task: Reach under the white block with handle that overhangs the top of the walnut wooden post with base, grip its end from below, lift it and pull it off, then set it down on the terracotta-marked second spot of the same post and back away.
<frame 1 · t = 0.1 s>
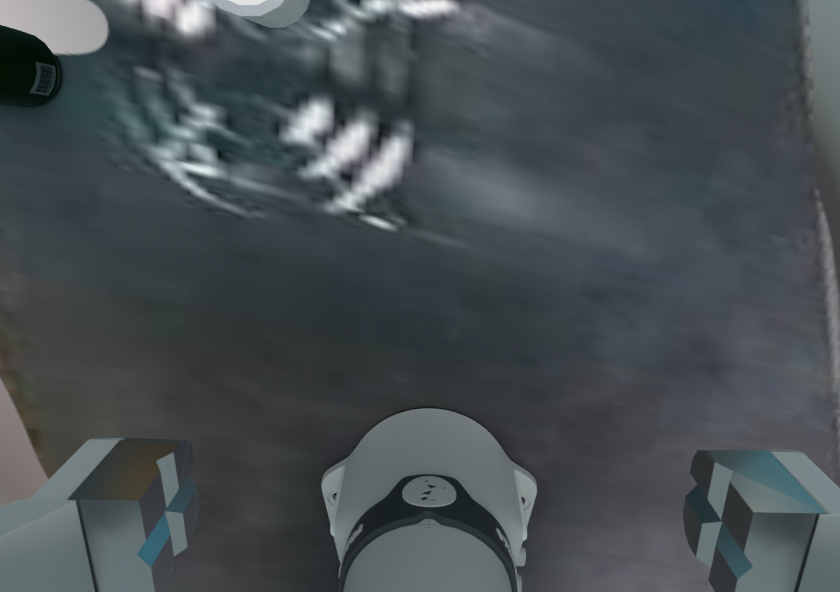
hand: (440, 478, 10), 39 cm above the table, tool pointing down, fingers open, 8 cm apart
beer can: (31, 71, 46), on the table
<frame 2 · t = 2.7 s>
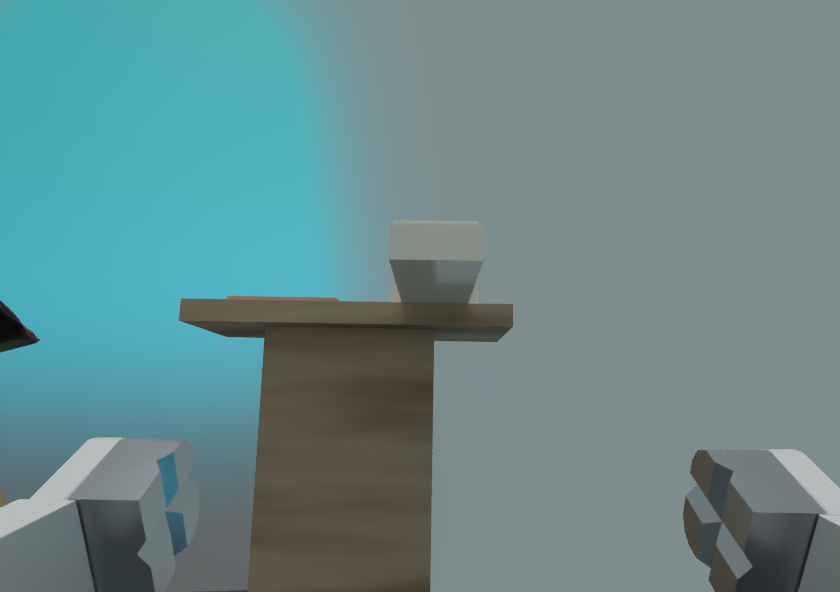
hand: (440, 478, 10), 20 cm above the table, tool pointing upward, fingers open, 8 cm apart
white block with handle: (434, 300, 26), point 26 cm above the table, touching wooden post with base
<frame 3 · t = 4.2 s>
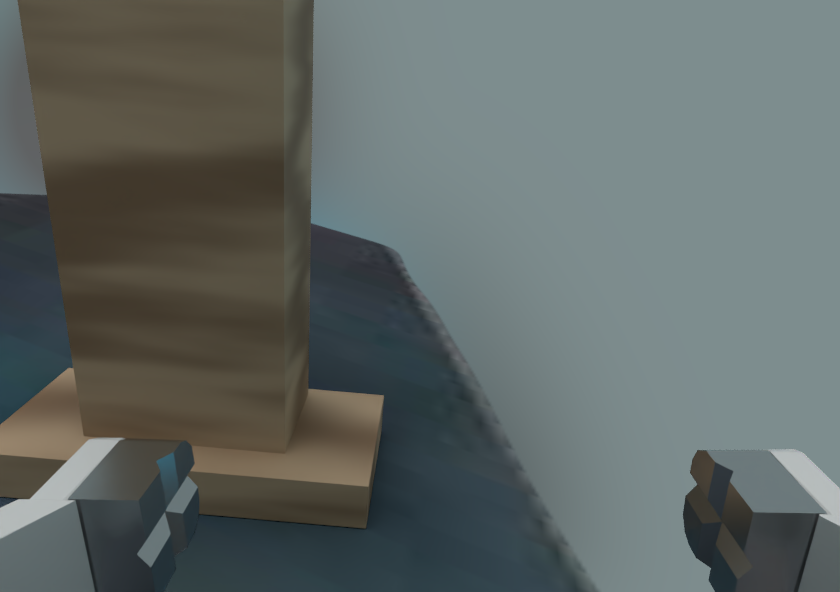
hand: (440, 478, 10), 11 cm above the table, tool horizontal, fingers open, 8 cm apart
wooden post with base: (203, 459, 26), on the table
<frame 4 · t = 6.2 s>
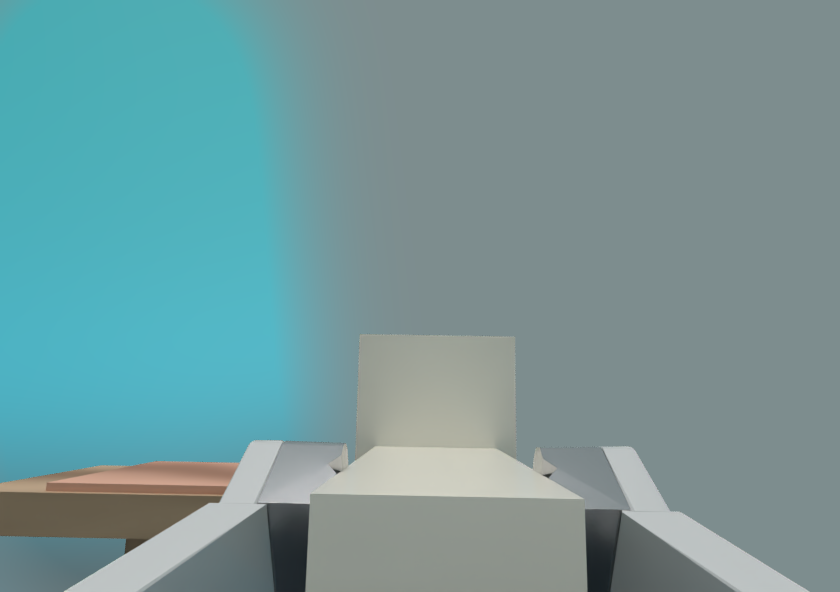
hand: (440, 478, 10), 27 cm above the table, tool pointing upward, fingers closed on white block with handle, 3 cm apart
white block with handle: (435, 505, 13), point 26 cm above the table, touching wooden post with base, gripper
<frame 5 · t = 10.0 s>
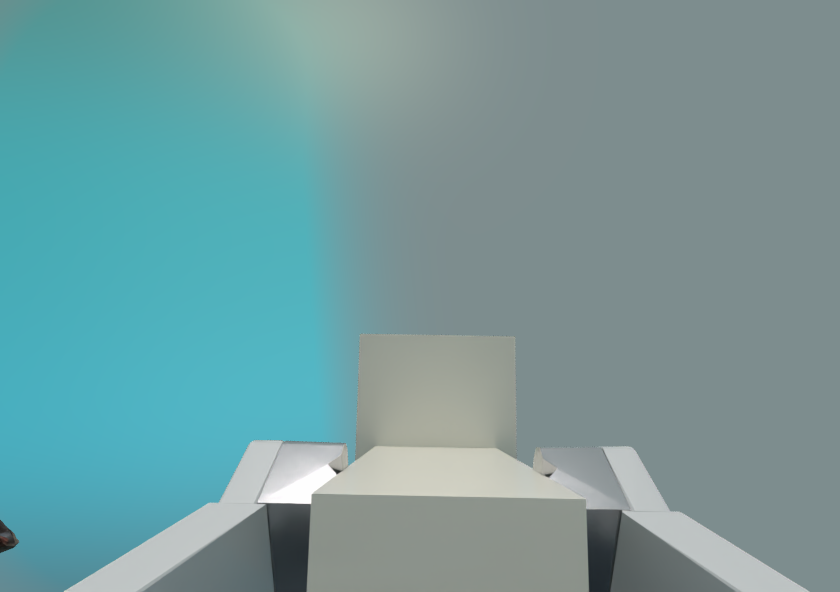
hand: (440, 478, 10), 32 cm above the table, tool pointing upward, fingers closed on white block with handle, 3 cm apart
white block with handle: (436, 505, 13), point 31 cm above the table, touching gripper
when the fingers open (28 cm above the table, at t = 14.3 s): white block with handle stays where it is, resting on wooden post with base.
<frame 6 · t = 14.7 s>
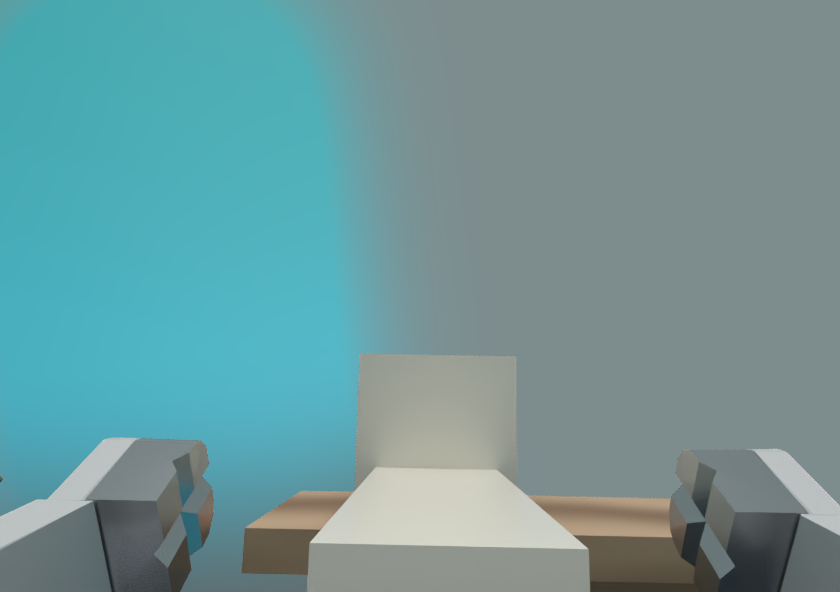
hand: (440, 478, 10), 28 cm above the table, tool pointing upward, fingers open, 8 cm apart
white block with handle: (436, 529, 13), point 26 cm above the table, touching wooden post with base
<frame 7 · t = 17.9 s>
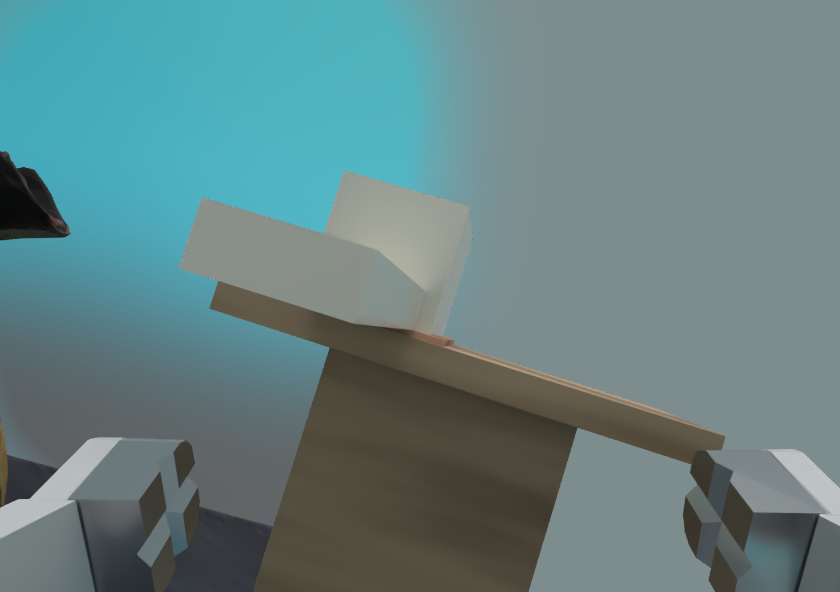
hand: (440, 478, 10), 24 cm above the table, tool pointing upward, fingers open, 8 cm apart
white block with handle: (357, 313, 17), point 26 cm above the table, touching wooden post with base
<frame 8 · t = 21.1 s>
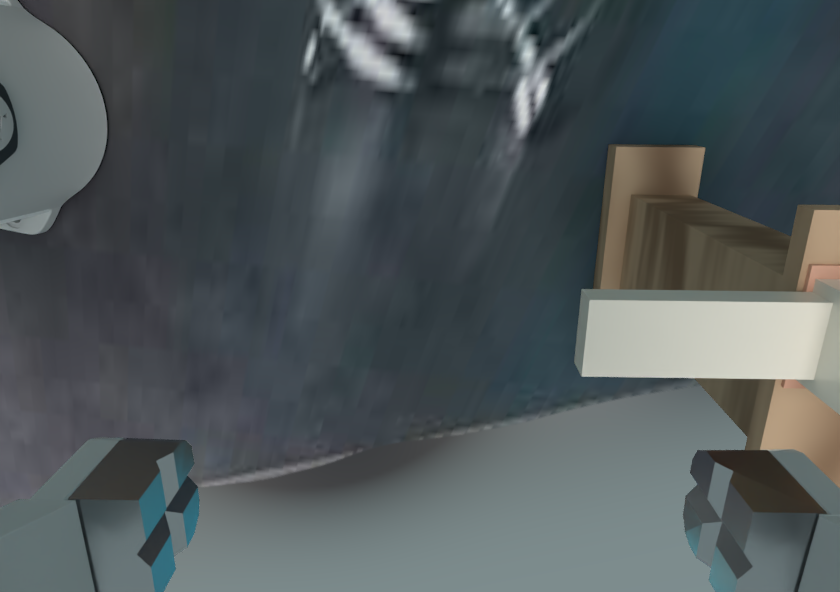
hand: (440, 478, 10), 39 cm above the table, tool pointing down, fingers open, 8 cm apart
wooden post with base: (638, 240, 48), on the table
white block with handle: (770, 328, 23), point 26 cm above the table, touching wooden post with base
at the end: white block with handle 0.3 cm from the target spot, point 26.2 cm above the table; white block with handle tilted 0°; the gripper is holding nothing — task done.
